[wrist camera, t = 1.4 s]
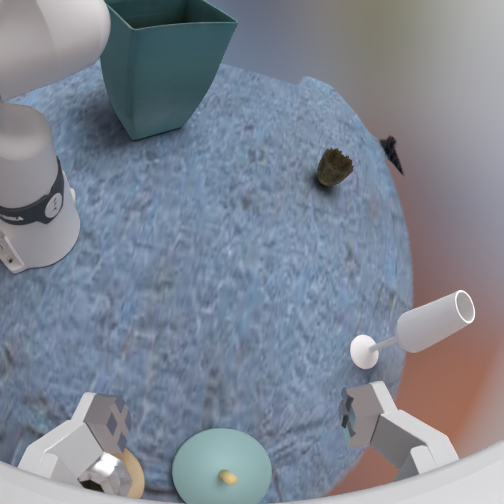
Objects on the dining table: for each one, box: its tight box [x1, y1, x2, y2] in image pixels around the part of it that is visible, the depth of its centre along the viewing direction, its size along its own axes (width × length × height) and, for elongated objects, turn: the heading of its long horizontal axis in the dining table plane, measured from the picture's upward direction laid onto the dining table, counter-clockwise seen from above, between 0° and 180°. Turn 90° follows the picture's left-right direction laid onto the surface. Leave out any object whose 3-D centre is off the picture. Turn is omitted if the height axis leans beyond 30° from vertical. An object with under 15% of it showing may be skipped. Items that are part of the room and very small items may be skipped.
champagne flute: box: [350, 290, 475, 369], centre depth 46 cm, size 7×7×24 cm
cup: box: [318, 148, 354, 187], centre depth 70 cm, size 8×7×8 cm
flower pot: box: [100, 0, 238, 140], centre depth 55 cm, size 20×20×28 cm
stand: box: [93, 447, 144, 499], centre depth 32 cm, size 12×12×1 cm
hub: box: [172, 428, 272, 504], centre depth 36 cm, size 14×14×6 cm
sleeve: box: [77, 451, 133, 497], centre depth 28 cm, size 8×8×10 cm
